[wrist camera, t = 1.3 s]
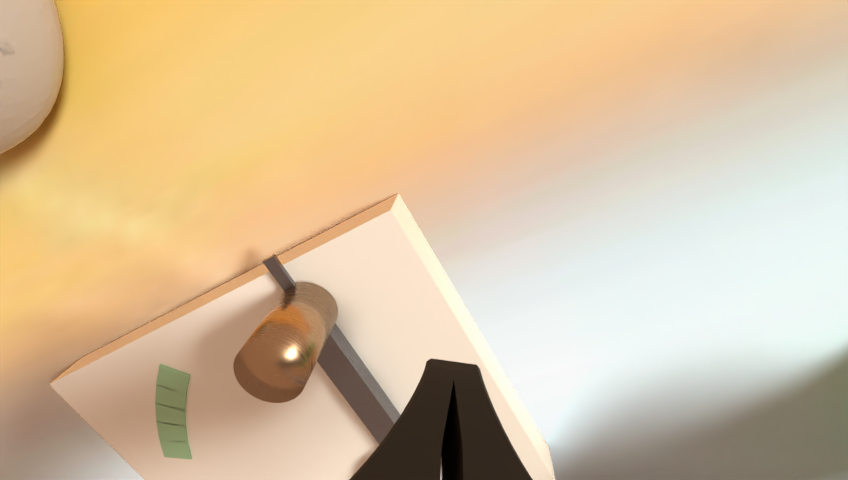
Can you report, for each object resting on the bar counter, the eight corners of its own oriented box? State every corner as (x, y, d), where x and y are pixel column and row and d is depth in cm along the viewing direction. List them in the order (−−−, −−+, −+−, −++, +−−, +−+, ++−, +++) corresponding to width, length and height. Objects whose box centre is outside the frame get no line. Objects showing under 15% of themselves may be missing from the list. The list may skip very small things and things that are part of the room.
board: (549, 447, 24) (556, 484, 22) (255, 541, 29) (240, 577, 27) (398, 193, 19) (390, 210, 17) (80, 358, 24) (47, 385, 22)
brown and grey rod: (493, 493, 22) (497, 584, 18) (411, 517, 23) (401, 607, 19) (317, 231, 17) (276, 283, 14) (227, 278, 19) (167, 337, 15)
